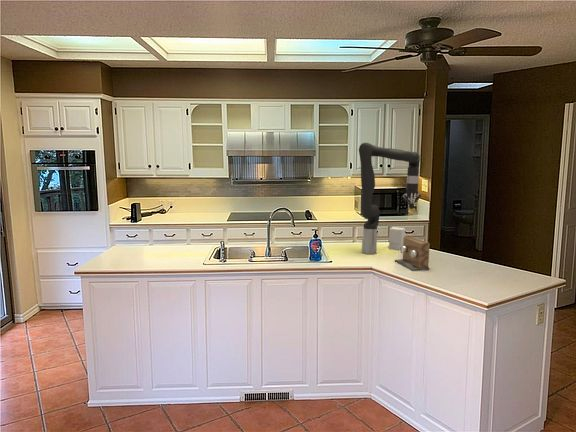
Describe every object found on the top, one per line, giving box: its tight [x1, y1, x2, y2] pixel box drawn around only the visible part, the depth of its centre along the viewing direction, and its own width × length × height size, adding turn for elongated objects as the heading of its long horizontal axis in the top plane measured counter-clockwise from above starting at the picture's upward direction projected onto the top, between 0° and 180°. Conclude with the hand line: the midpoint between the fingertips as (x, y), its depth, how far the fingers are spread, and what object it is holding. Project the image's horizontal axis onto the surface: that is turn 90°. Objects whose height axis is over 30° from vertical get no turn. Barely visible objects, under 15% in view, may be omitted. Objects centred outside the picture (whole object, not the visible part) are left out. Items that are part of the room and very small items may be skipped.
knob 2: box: [410, 250, 418, 258], centre depth 261 cm, size 8×4×4 cm, turn 104°
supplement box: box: [388, 226, 406, 251], centre depth 312 cm, size 9×9×15 cm
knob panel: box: [394, 236, 431, 272], centre depth 266 cm, size 11×22×16 cm, turn 14°
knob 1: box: [399, 246, 408, 254], centre depth 272 cm, size 8×4×4 cm, turn 104°
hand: (411, 208), depth 287 cm, fingers closed
